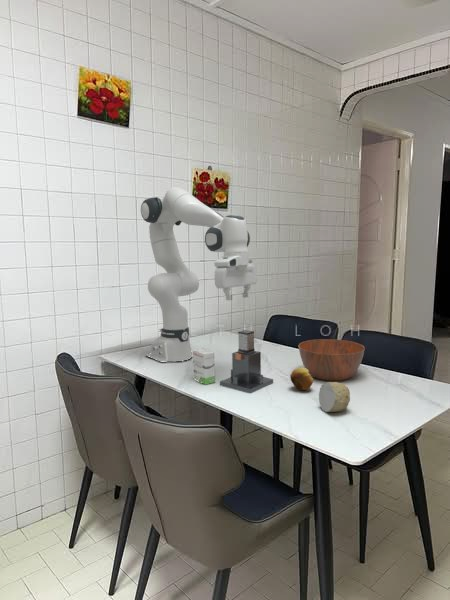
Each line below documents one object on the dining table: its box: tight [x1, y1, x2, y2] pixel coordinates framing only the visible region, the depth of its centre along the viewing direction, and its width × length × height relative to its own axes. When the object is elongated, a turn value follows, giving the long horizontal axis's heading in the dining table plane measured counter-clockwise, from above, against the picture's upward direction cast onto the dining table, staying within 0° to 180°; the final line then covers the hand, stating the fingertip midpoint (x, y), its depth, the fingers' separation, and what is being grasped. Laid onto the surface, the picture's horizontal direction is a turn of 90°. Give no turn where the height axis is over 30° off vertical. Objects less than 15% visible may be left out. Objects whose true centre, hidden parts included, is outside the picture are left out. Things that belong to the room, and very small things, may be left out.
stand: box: [219, 350, 274, 394], centre depth 162 cm, size 14×14×12 cm
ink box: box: [192, 348, 216, 385], centre depth 166 cm, size 9×5×12 cm, turn 35°
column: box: [237, 329, 255, 355], centre depth 161 cm, size 4×4×18 cm
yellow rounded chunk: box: [318, 381, 351, 413], centre depth 136 cm, size 10×10×10 cm
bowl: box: [297, 338, 366, 382], centre depth 172 cm, size 25×25×11 cm
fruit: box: [289, 366, 314, 392], centre depth 155 cm, size 8×8×8 cm
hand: (237, 298), depth 161 cm, fingers open, 8 cm apart
